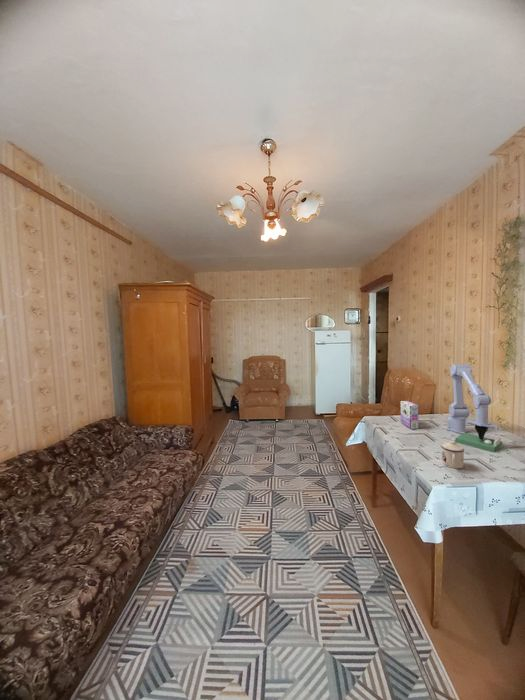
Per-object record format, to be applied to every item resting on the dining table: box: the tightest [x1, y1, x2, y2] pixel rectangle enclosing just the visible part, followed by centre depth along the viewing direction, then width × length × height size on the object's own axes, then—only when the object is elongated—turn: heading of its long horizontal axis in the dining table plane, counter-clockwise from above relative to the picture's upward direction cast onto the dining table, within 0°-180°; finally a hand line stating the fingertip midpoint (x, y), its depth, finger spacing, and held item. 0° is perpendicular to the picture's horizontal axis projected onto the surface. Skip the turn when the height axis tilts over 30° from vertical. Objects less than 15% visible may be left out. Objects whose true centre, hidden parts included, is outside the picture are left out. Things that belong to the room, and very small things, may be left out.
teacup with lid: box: [441, 440, 465, 469], centre depth 133 cm, size 12×9×12 cm
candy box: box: [399, 400, 420, 430], centre depth 191 cm, size 14×6×16 cm, turn 179°
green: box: [454, 432, 503, 453], centre depth 157 cm, size 18×14×5 cm
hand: (481, 438), depth 156 cm, fingers closed
